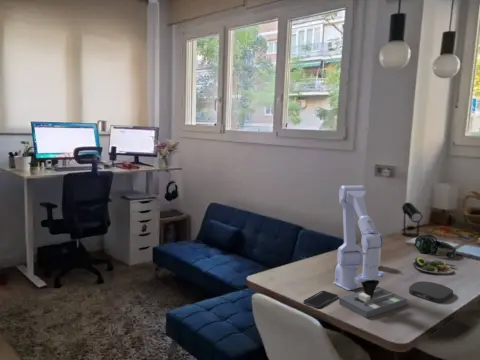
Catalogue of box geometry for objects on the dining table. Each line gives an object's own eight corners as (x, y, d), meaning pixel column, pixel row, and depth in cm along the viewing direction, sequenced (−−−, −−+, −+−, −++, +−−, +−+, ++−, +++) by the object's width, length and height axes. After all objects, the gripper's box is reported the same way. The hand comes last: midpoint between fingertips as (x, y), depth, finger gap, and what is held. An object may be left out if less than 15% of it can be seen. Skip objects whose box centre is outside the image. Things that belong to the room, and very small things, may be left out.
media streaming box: (456, 295, 177) (456, 288, 177) (440, 305, 168) (441, 298, 167) (421, 284, 188) (422, 278, 188) (405, 293, 178) (405, 287, 178)
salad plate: (447, 263, 216) (448, 254, 215) (463, 276, 198) (464, 267, 198) (408, 262, 217) (408, 253, 217) (420, 275, 200) (421, 265, 199)
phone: (302, 301, 168) (322, 290, 179) (302, 304, 168) (322, 292, 179) (319, 307, 163) (339, 295, 173) (319, 310, 163) (339, 298, 174)
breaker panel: (339, 303, 168) (339, 294, 167) (378, 292, 179) (378, 283, 178) (366, 318, 156) (366, 308, 155) (406, 305, 167) (406, 296, 166)
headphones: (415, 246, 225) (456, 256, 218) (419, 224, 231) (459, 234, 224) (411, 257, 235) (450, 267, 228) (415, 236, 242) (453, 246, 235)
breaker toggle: (358, 298, 165) (358, 293, 165) (362, 297, 167) (363, 292, 166) (365, 302, 162) (365, 297, 162) (370, 301, 164) (370, 296, 163)
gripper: (365, 270, 156) (363, 305, 158) (391, 264, 164) (389, 297, 166) (350, 264, 162) (349, 298, 164) (377, 258, 170) (375, 291, 172)
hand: (368, 297), depth 166 cm, fingers closed
